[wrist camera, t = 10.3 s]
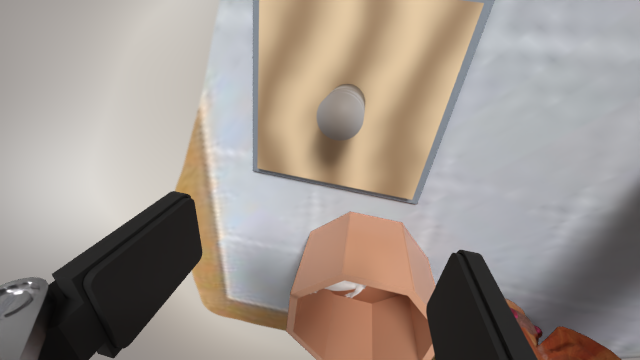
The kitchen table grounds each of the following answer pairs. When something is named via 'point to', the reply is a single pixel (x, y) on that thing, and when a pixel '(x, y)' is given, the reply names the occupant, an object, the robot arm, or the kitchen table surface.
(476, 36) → the mat
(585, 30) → the kitchen table surface
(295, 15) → the lid
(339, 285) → the garlic
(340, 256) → the bowl
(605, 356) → the mug
